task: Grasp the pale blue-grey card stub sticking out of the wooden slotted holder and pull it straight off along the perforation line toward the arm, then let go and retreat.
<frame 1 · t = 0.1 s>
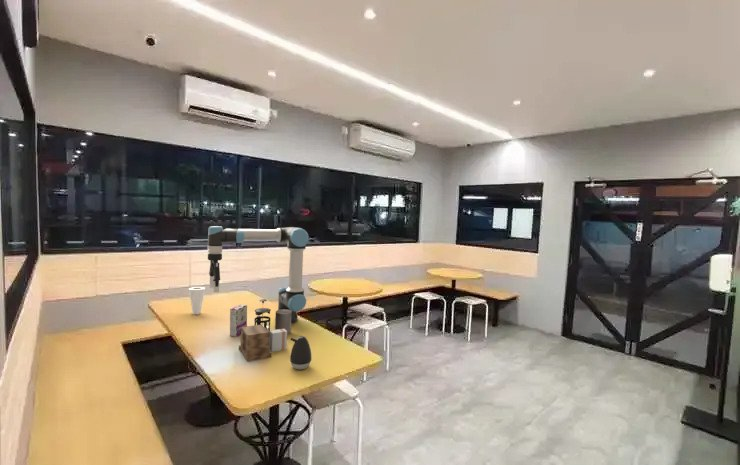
hand: (214, 289, 204), 28 cm above the table, fingers open, 13 cm apart
pillar candle: (282, 333, 217), on the table
pump dispenser: (300, 367, 171), on the table
wooden slotted holder: (255, 352, 185), on the table
candy bar box: (238, 333, 213), on the table
french press: (261, 338, 207), on the table
cup: (196, 313, 249), on the table
stub: (278, 339, 192), point 5 cm above the table, slide at 0.0 cm
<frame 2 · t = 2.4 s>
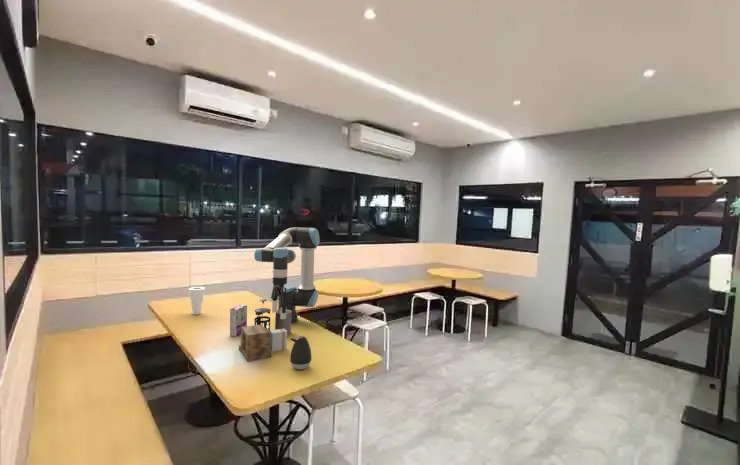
hand: (278, 315, 191), 19 cm above the table, fingers open, 13 cm apart
nothing on the table moved.
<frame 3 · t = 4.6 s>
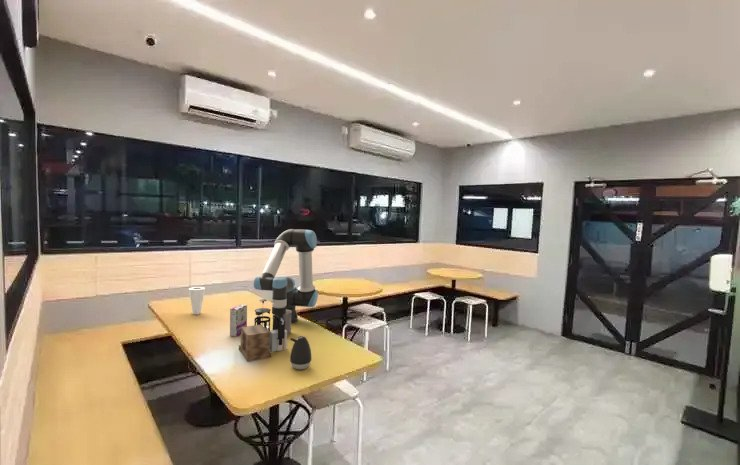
hand: (277, 348, 192), 0 cm above the table, fingers closed on stub, 5 cm apart
stub: (278, 339, 192), point 5 cm above the table, slide at 0.0 cm, touching gripper
everything else where it was.
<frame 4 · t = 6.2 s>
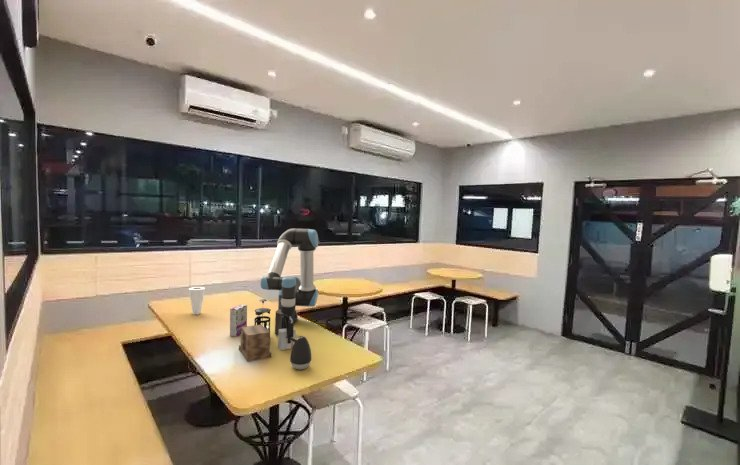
hand: (286, 346, 195), 0 cm above the table, fingers closed on stub, 5 cm apart
stub: (286, 338, 195), point 5 cm above the table, slide at 4.9 cm, touching gripper
everything else where it was.
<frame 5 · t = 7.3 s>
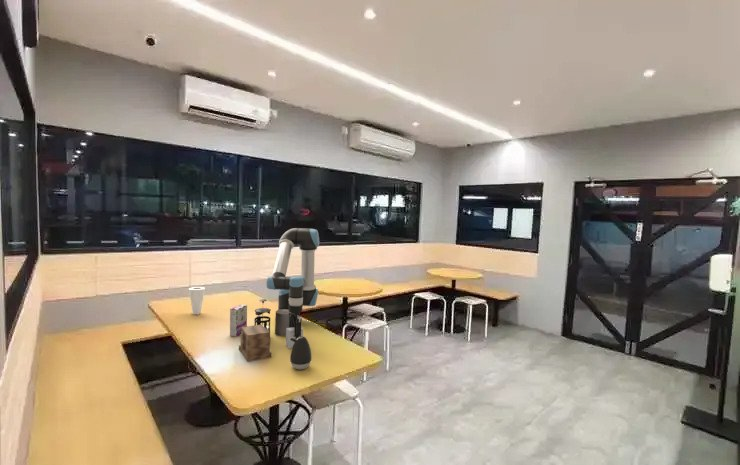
hand: (294, 345, 197), 0 cm above the table, fingers closed on stub, 5 cm apart
stub: (294, 337, 197), point 5 cm above the table, slide at 9.3 cm, touching gripper
everything else where it was.
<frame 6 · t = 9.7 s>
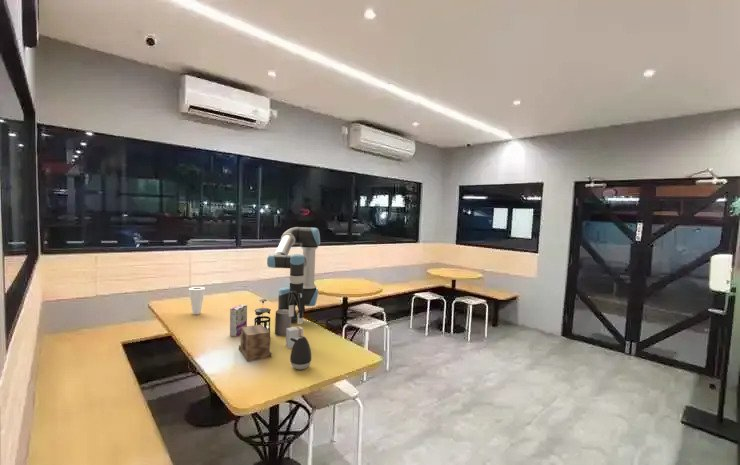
hand: (295, 319, 197), 15 cm above the table, fingers open, 13 cm apart
stub: (294, 337, 197), point 5 cm above the table, slide at 9.4 cm
everything else where it was.
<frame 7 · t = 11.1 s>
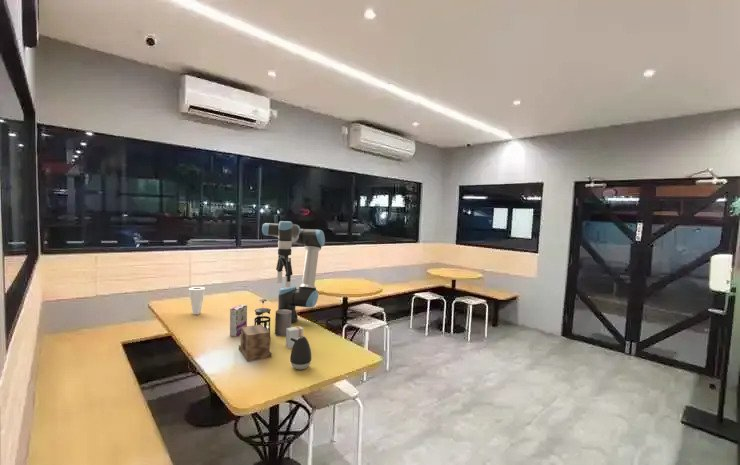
hand: (283, 284, 203), 33 cm above the table, fingers open, 13 cm apart
nothing on the table moved.
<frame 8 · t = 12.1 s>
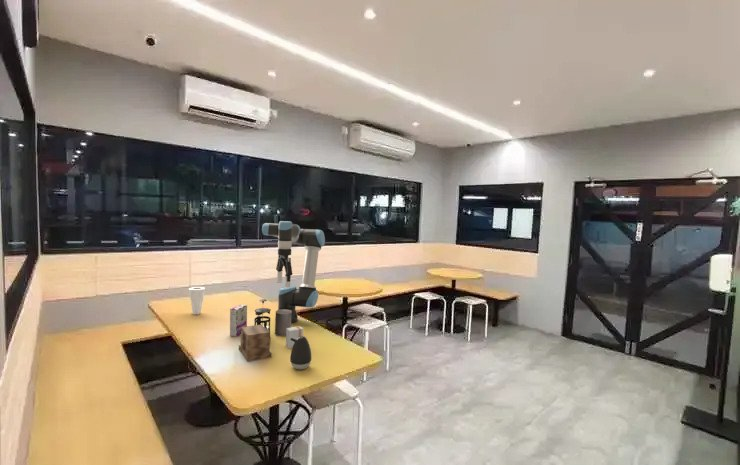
hand: (283, 284, 203), 33 cm above the table, fingers open, 13 cm apart
nothing on the table moved.
at the end: stub slide at 9.4 cm; the gripper is holding nothing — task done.
